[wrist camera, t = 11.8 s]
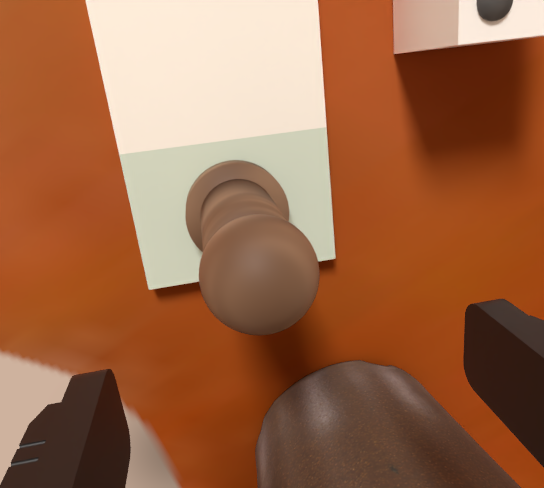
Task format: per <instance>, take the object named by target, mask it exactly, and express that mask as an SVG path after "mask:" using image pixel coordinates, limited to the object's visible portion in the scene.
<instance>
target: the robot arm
mask: <svg viewBox="0 0 544 488" xmlns="http://www.w3.org/2000/svg"><path fill="white" fill-rule="evenodd" d="M464 370H465V374H466V377H467V379H468V382H469V384H470V385H471V387H472V388H473V390H474V391H475V392H476V393H477V394H478V395H479V396H480V398H481V399H482V400H483V401H484V402H485V403H486V404H487V405H488V406H489V407H490V409H491V410H492V411H493V412H494V413H495V414H496V415H497V416H498V417H499V419H500V420H501V421H502V422H503V423H504V424H505V425H506V426H507V427H508V428H509V430H510V431H511V432H512V433H513V434H514V435H515V436H516V437H517V438H518V439H519V441H520V442H521V443H522V444H523V445H524V446H525V447H526V448H527V449H528V451H529V452H530V453H531V454H532V455H533V456H534V457H535V458H536V459H537V460H538V462H539V463H540V464H541V465H542V466H543V467H544V320H541V319H539V318H536V317H533V316H531V315H530V316H528V315H527V314H526V313H524V312H523V311H521V310H520V309H518V308H517V307H516V306H514V305H513V304H511V303H510V302H508V301H507V300H505V299H496V300H491V301H485V302H480V303H474V304H470V305H469V306H468V307H467V309H466V312H465V334H464ZM19 446H20V448H19V449H17V451H16V453H15V455H14V457H13V459H12V462H11V467H9V468H8V470H7V472H6V474H5V476H4V478H3V480H2V482H1V485H0V488H125V484H126V479H127V473H128V467H129V461H130V435H129V429H128V425H127V421H126V417H125V414H124V410H123V406H122V402H121V398H120V395H119V391H118V387H117V383H116V380H115V376H114V374H113V372H112V370H111V369H106V370H100V371H95V372H89V373H84V374H78V375H74V376H72V378H71V380H70V382H69V385H68V387H67V390H66V392H65V394H64V397H63V399H62V402H60V403H55V404H50V405H47V406H46V407H45V409H43V411H42V412H41V413H40V414H39V415H38V416H37V417H36V418H35V419H34V420H33V421H32V422H31V423H30V424H29V426H28V428H27V430H26V432H25V434H24V436H23V438H22V440H21V443H20V445H19Z"/></svg>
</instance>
